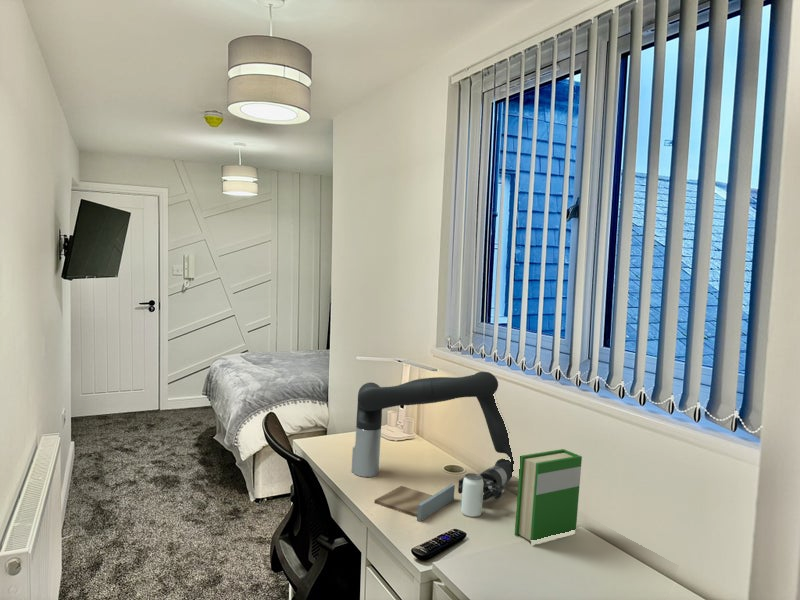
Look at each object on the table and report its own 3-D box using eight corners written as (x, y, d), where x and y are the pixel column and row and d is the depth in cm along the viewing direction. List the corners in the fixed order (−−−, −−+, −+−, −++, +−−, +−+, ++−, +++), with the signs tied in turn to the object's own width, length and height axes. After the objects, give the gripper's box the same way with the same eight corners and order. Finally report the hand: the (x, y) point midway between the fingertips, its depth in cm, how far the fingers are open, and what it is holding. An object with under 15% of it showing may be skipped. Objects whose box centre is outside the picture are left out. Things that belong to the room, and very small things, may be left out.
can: (480, 518, 182) (483, 481, 182) (460, 515, 184) (462, 478, 183) (482, 510, 189) (484, 474, 188) (462, 507, 190) (464, 471, 189)
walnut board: (374, 502, 189) (374, 499, 189) (401, 488, 203) (401, 485, 203) (416, 517, 181) (416, 513, 181) (441, 501, 194) (441, 498, 194)
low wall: (416, 520, 178) (417, 504, 178) (450, 498, 197) (451, 484, 197) (420, 521, 178) (421, 505, 177) (453, 499, 196) (454, 484, 196)
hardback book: (532, 546, 166) (538, 464, 165) (514, 535, 173) (520, 455, 171) (575, 534, 175) (581, 456, 174) (557, 524, 182) (563, 448, 180)
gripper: (474, 464, 202) (452, 476, 189) (512, 474, 195) (493, 488, 181) (472, 485, 203) (450, 499, 189) (511, 496, 195) (491, 511, 182)
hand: (471, 493), depth 185 cm, fingers open, 8 cm apart
